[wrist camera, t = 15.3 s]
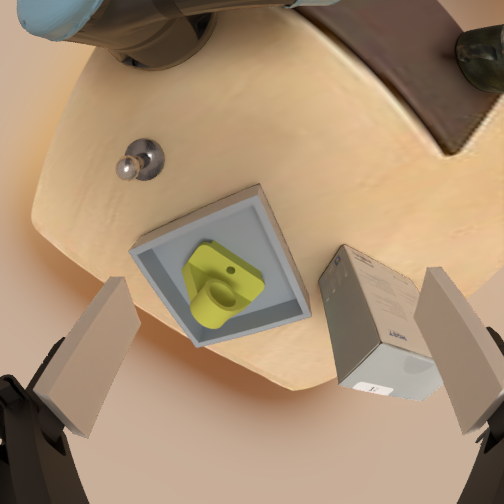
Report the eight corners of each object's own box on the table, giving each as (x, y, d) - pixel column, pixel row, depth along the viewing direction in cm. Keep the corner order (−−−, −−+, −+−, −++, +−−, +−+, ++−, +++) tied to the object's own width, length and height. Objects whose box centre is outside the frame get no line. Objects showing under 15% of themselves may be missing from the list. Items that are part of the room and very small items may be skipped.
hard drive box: (316, 281, 45) (334, 385, 28) (342, 242, 42) (381, 339, 24) (387, 312, 48) (422, 403, 30) (413, 279, 44) (463, 368, 27)
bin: (141, 236, 44) (128, 251, 39) (259, 183, 39) (257, 194, 34) (202, 328, 52) (196, 347, 48) (308, 296, 47) (311, 316, 43)
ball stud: (119, 151, 37) (94, 162, 31) (152, 130, 36) (129, 137, 30) (138, 186, 40) (116, 202, 34) (171, 168, 38) (153, 181, 32)
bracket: (268, 276, 45) (266, 320, 36) (245, 300, 47) (239, 345, 38) (205, 234, 42) (188, 272, 33) (185, 262, 44) (165, 303, 36)
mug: (506, 96, 27) (556, 106, 17) (441, 91, 30) (493, 94, 19) (495, 35, 22) (543, 31, 12) (426, 21, 25) (473, 4, 14)
